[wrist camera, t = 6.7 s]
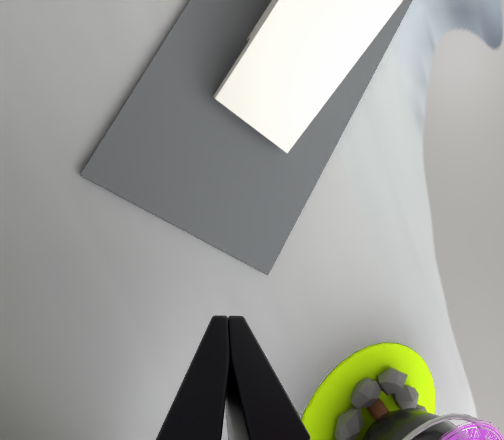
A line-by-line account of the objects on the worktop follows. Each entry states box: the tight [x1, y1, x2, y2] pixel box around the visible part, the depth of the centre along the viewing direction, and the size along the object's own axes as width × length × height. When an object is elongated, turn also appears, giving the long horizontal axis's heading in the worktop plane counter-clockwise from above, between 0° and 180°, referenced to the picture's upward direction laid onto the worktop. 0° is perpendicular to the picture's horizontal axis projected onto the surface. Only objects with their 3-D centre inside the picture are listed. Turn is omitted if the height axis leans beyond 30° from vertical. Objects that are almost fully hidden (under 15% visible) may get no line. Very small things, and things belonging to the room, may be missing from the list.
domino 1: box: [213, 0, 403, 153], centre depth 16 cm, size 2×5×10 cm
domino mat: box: [80, 0, 412, 275], centre depth 19 cm, size 28×12×1 cm, turn 148°
